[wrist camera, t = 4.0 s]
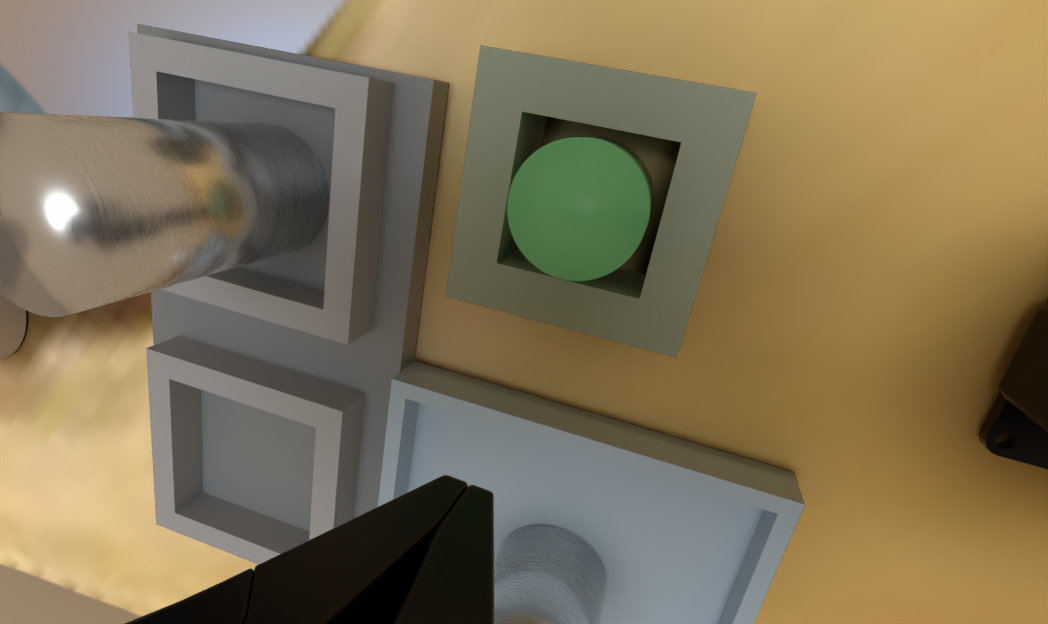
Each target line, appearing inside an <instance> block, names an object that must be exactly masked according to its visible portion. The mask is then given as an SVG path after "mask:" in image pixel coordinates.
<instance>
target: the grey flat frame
mask: <svg viewBox="0 0 1048 624" xmlns="http://www.w3.org/2000/svg"><path fill="white" fill-rule="evenodd" d="M137 29H138V33H133V32H129V50H130V67H131V85H132V101H133V102H132V103H133V118H153V119H177V120H201V121H225V122H249V123H269V124H275V125H279V126H282V127H284V128H287V129H289V130H291V131H292V132H294V133H295V134H297V135H298V136H299V137H300V138H302V139H303V140H304V141H305V142H306V143H307V144H308V145H309V146H310V148H311V149H312V150H313V152H314V153H315V155H316V156H317V158H318V160H319V161H320V164H321V166H322V168H323V170H324V173H325V176H326V180H327V185H328V192H329V205H328V213H327V217H326V220H325V223H324V225H323V227H322V229H321V231H320V232H319V234H318V235H317V236H316V238H315V239H314V240H313V241H312V242H310V243H309V244H308V245H306V246H305V247H303V248H301V249H298V250H295V251H291V252H288V253H284V254H281V255H277V256H274V257H270V258H267V259H263V260H260V261H256V262H253V263H249V264H246V265H242V266H239V267H235V268H232V269H228V270H225V271H221V272H218V273H214V274H211V275H207V276H204V277H200V278H197V279H193V280H190V281H186V282H183V283H179V284H176V285H172V286H169V287H165V288H162V289H158V290H155V291H151V302H152V321H153V341H154V346H151V347H149V348H146V350H147V368H148V386H149V403H150V421H151V439H152V457H153V474H154V492H155V510H156V524H157V525H160V526H162V527H165V528H167V529H170V530H172V531H175V532H177V533H180V534H182V535H185V536H188V537H190V538H193V539H195V540H198V541H200V542H203V543H205V544H208V545H210V546H213V547H215V548H218V549H221V550H223V551H226V552H228V553H231V554H233V555H236V556H238V557H241V558H243V559H246V560H248V561H251V562H254V563H256V564H261V563H263V562H265V561H267V560H269V559H271V558H273V557H275V556H277V555H279V554H281V553H284V552H286V551H288V550H290V549H292V548H294V547H296V546H298V545H300V544H302V543H304V542H306V541H308V540H310V539H312V538H315V537H317V536H319V535H321V534H323V533H325V532H327V531H329V530H331V529H333V528H335V527H337V526H339V525H341V524H343V523H346V522H348V521H350V520H352V519H354V518H356V517H358V516H360V515H362V514H364V513H366V512H368V511H370V510H372V509H374V508H377V507H378V499H379V490H380V481H381V472H382V463H383V454H384V445H385V436H386V427H387V418H388V409H389V400H390V391H391V382H392V378H394V377H395V376H396V375H397V374H398V373H400V372H401V371H402V370H403V369H405V368H406V367H407V366H408V365H409V364H411V363H412V362H413V361H414V359H415V351H416V343H417V335H418V327H419V319H420V311H421V303H422V295H423V287H424V279H425V271H426V263H427V255H428V247H429V239H430V231H431V223H432V215H433V207H434V199H435V191H436V183H437V175H438V167H439V159H440V151H441V143H442V135H443V127H444V119H445V111H446V103H447V95H448V87H449V83H445V82H441V81H437V80H432V79H427V78H422V77H416V76H411V75H406V74H401V73H395V72H390V71H385V70H379V69H374V68H369V67H364V66H358V65H353V64H348V63H342V62H337V61H332V60H326V59H321V58H316V57H311V56H305V55H300V54H295V53H289V52H284V51H279V50H273V49H268V48H263V47H258V46H252V45H246V44H242V43H236V42H231V41H226V40H220V39H214V38H210V37H204V36H199V35H194V34H188V33H183V32H178V31H173V30H167V29H162V28H157V27H152V26H146V25H141V24H137Z"/></svg>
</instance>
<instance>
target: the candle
mask: <svg viewBox="0 0 1048 624" xmlns="http://www.w3.org/2000/svg"><path fill="white" fill-rule="evenodd" d="M25 330H26V310H24V309H23V308H21V307H19V306H17V305H15V304H14V303H12V302H11V301H9V300H8V299H7V298H5V297H4V296H3V295H2V294H1V293H0V359H3V358H6V357H8V356H10V355H11V354H13V353H14V352H15V351H16V350H17V349H18V348H19V346H20V344H21V342H22V341H23V338H24V334H25Z"/></svg>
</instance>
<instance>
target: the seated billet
mask: <svg viewBox="0 0 1048 624" xmlns="http://www.w3.org/2000/svg"><path fill="white" fill-rule="evenodd" d="M328 205H329V192H328V185H327V180H326V176H325V173H324V170H323V168H322V166H321V164H320V161H319V160H318V158H317V156H316V155H315V153H314V152H313V150H312V149H311V148H310V146H309V145H308V144H307V143H306V142H305V141H304V140H303V139H302V138H300V137H299V136H298V135H297V134H295V133H294V132H292V131H291V130H289V129H287V128H284V127H282V126H279V125H275V124H269V123H249V122H225V121H201V120H177V119H153V118H128V117H104V116H80V115H57V114H33V113H9V112H0V293H1V294H2V295H3V296H4V297H5V298H7V299H8V300H9V301H11V302H12V303H14V304H15V305H17V306H19V307H21V308H23V309H24V310H27V311H29V312H32V313H34V314H38V315H42V316H48V317H62V316H67V315H70V314H74V313H78V312H81V311H85V310H88V309H92V308H95V307H99V306H102V305H106V304H109V303H113V302H116V301H120V300H123V299H127V298H130V297H134V296H137V295H141V294H144V293H148V292H151V291H155V290H158V289H162V288H165V287H169V286H172V285H176V284H179V283H183V282H186V281H190V280H193V279H197V278H200V277H204V276H207V275H211V274H214V273H218V272H221V271H225V270H228V269H232V268H235V267H239V266H242V265H246V264H249V263H253V262H256V261H260V260H263V259H267V258H270V257H274V256H277V255H281V254H284V253H288V252H291V251H295V250H298V249H301V248H303V247H305V246H306V245H308V244H309V243H310V242H312V241H313V240H314V239H315V238H316V236H317V235H318V234H319V232H320V231H321V229H322V227H323V225H324V223H325V220H326V217H327V213H328Z"/></svg>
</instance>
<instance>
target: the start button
mask: <svg viewBox="0 0 1048 624" xmlns="http://www.w3.org/2000/svg"><path fill="white" fill-rule="evenodd" d="M653 202H654V193H653V185H652V181H651V178H650V175H649V172H648V171H647V169H646V167H645V165H644V164H643V162H642V161H641V159H640V158H639V157H638V156H637V155H636V154H635V153H634V152H633V151H631V150H630V149H629V148H628V147H626V146H624V145H623V144H621V143H618V142H616V141H613V140H610V139H606V138H595V137H571V138H564V139H560V140H557V141H553V142H551V143H549V144H547V145H545V146H543V147H541V148H540V149H538V150H537V151H535V152H534V153H533V154H532V155H531V156H529V158H528V159H527V160H526V161H525V162H524V163H523V164H522V166H521V167H520V169H519V170H518V172H517V173H516V175H515V177H514V179H513V182H512V185H511V187H510V191H509V195H508V203H507V215H508V222H509V227H510V230H511V234H512V236H513V238H514V241H515V243H516V244H517V246H518V248H519V249H520V251H521V252H522V254H523V255H524V256H525V257H526V258H527V259H528V260H529V261H530V262H531V263H532V264H533V265H534V266H535V267H537V268H538V269H540V270H541V271H543V272H544V273H547V274H549V275H551V276H553V277H556V278H559V279H564V280H569V281H587V280H592V279H597V278H600V277H603V276H605V275H607V274H609V273H611V272H613V271H615V270H616V269H618V268H619V267H621V266H622V265H623V264H624V263H625V262H626V261H627V260H628V259H629V258H630V257H631V256H632V255H633V253H634V252H635V250H636V249H637V247H638V246H639V244H640V242H641V240H642V238H643V235H644V233H645V230H646V228H647V225H648V223H649V220H650V217H651V214H652V209H653Z"/></svg>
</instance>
